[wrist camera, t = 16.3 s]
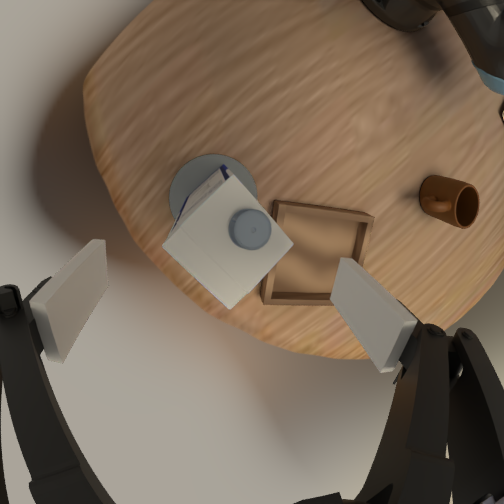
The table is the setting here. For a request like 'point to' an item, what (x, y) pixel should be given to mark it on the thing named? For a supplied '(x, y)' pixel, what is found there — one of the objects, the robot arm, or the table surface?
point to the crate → (314, 252)
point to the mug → (450, 200)
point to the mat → (204, 178)
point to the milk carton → (226, 238)
